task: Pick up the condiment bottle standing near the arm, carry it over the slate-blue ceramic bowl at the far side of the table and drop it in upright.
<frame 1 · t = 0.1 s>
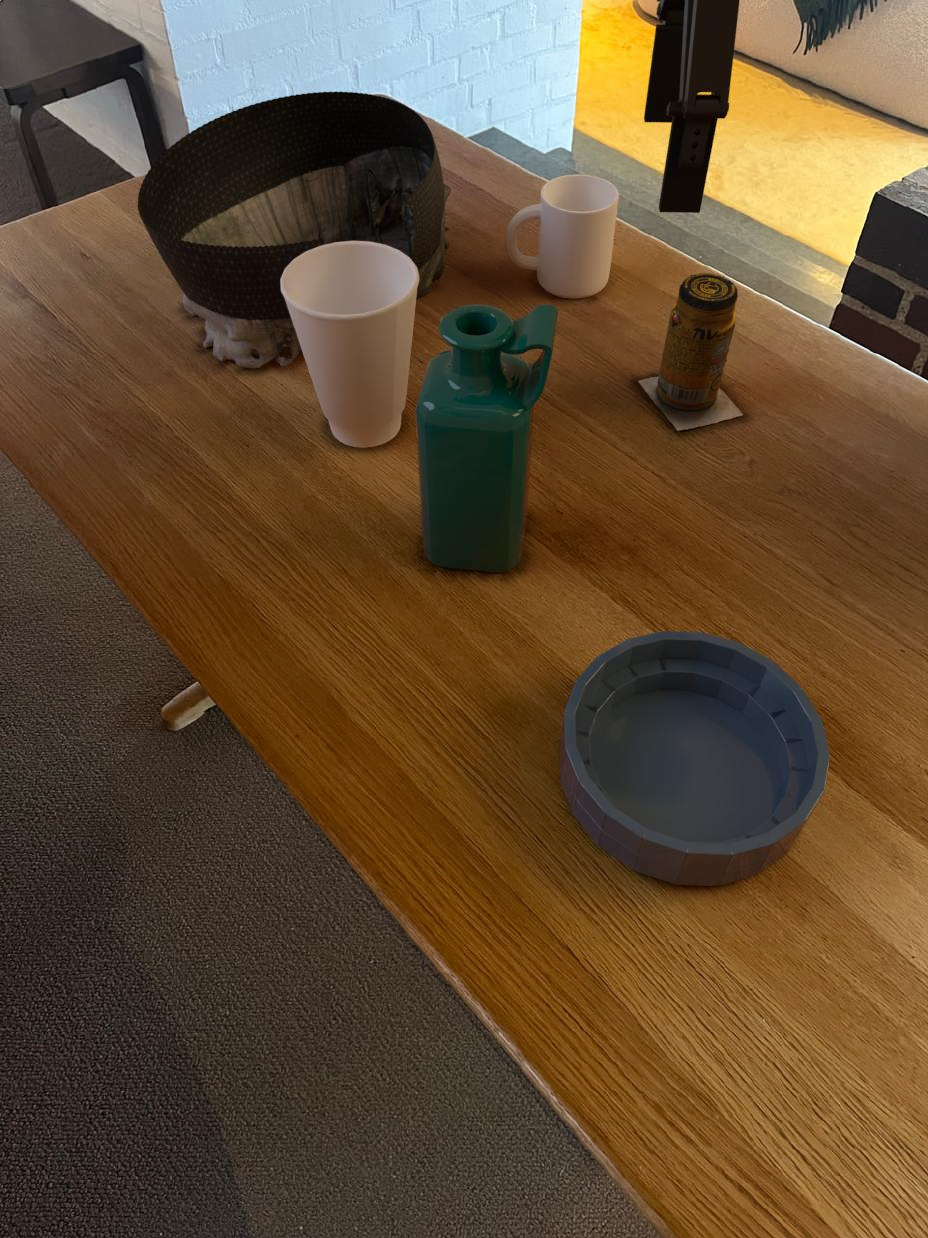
hand: (669, 162, 70), 28 cm above the table, tool pointing down, fingers open, 13 cm apart
bowl: (681, 774, 69), on the table
mug: (555, 282, 110), on the table
pitcher: (483, 539, 84), on the table
cup: (366, 425, 94), on the table
basket: (325, 298, 108), on the table
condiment: (688, 400, 96), on the table
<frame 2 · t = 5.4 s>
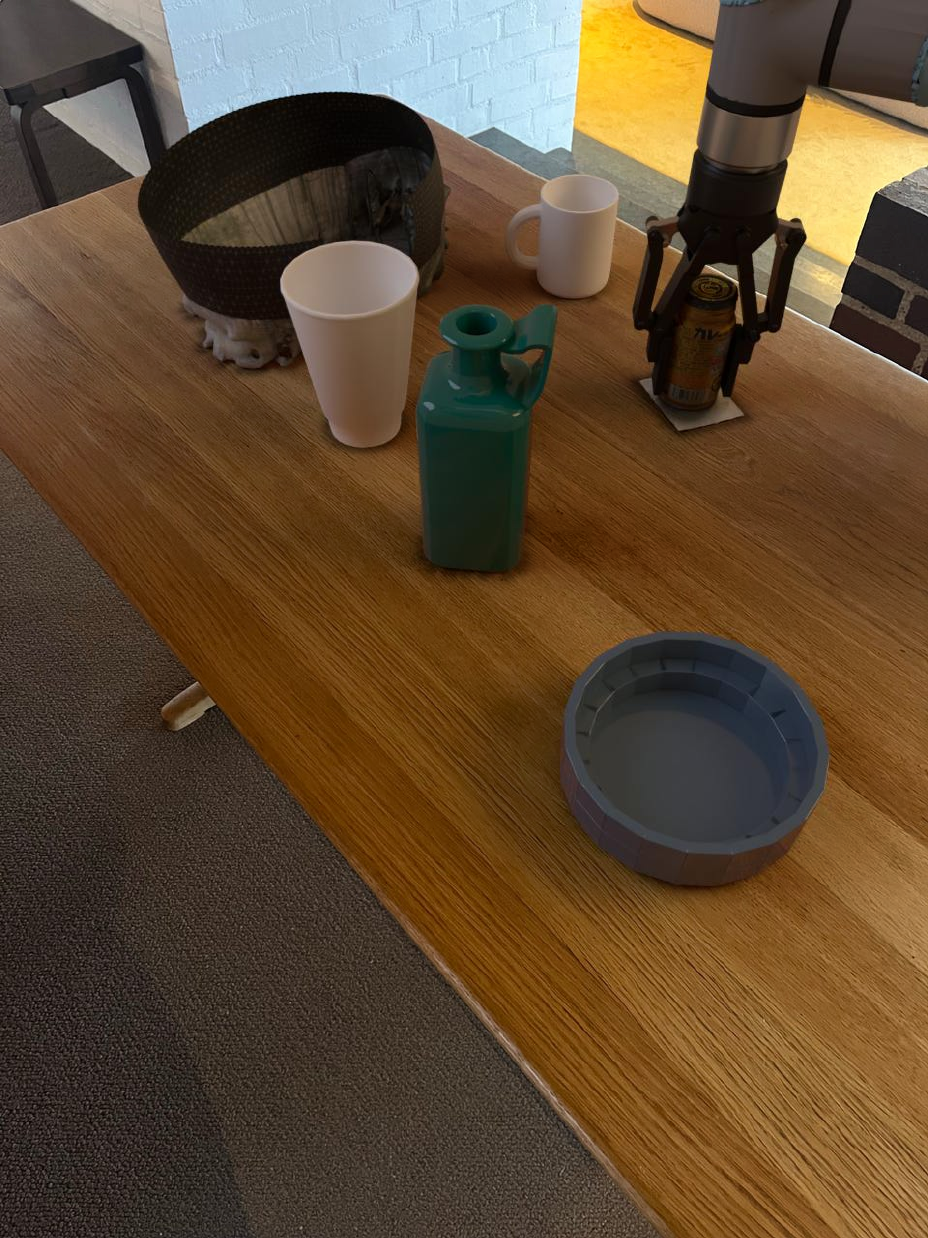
hand: (690, 387, 95), 1 cm above the table, tool pointing down, fingers closed on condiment, 6 cm apart
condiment: (689, 400, 96), on the table, touching gripper
everything else where it was.
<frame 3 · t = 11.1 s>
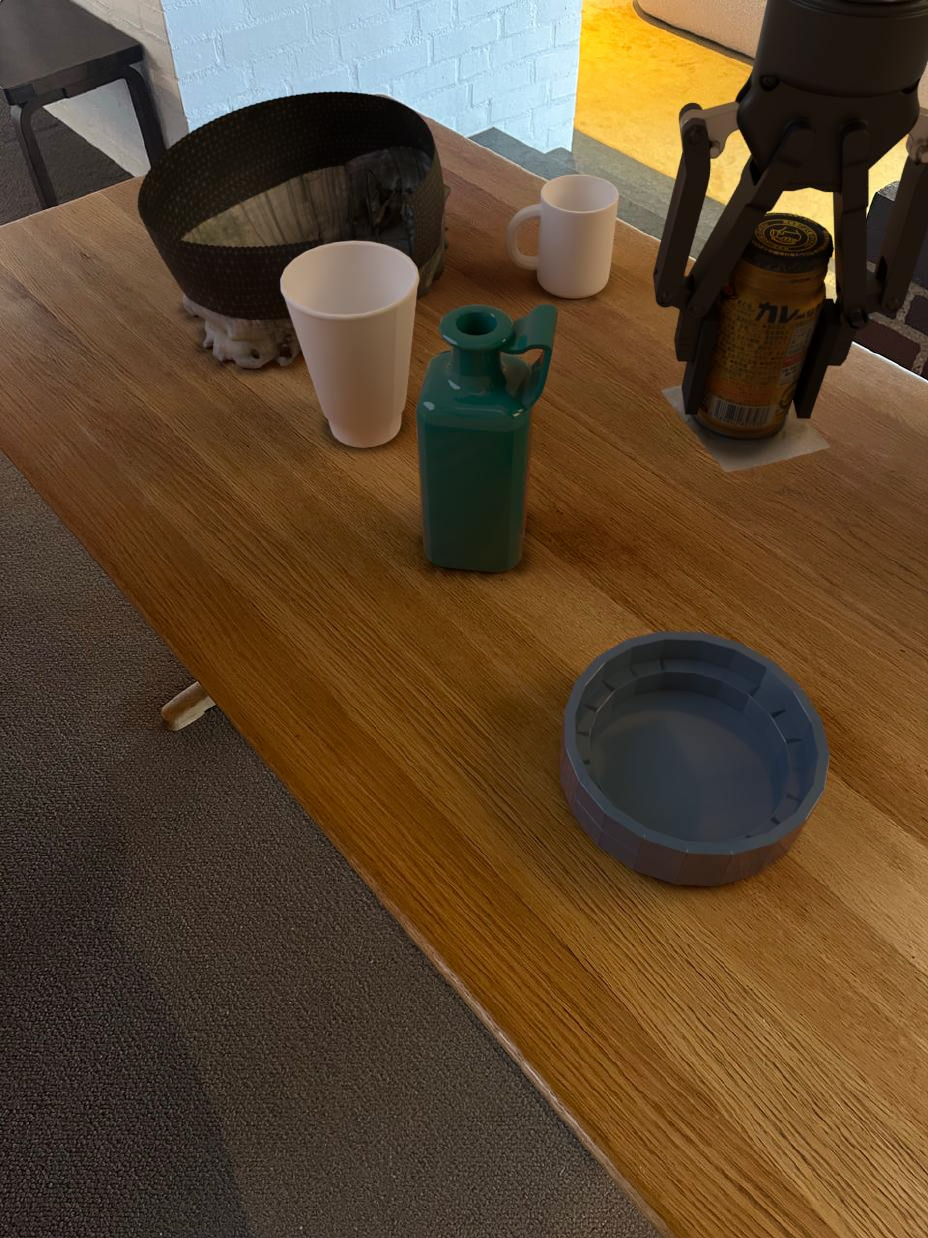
hand: (744, 402, 59), 23 cm above the table, tool pointing down, fingers closed on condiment, 6 cm apart
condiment: (741, 422, 60), point 21 cm above the table, touching gripper
everything else where it was.
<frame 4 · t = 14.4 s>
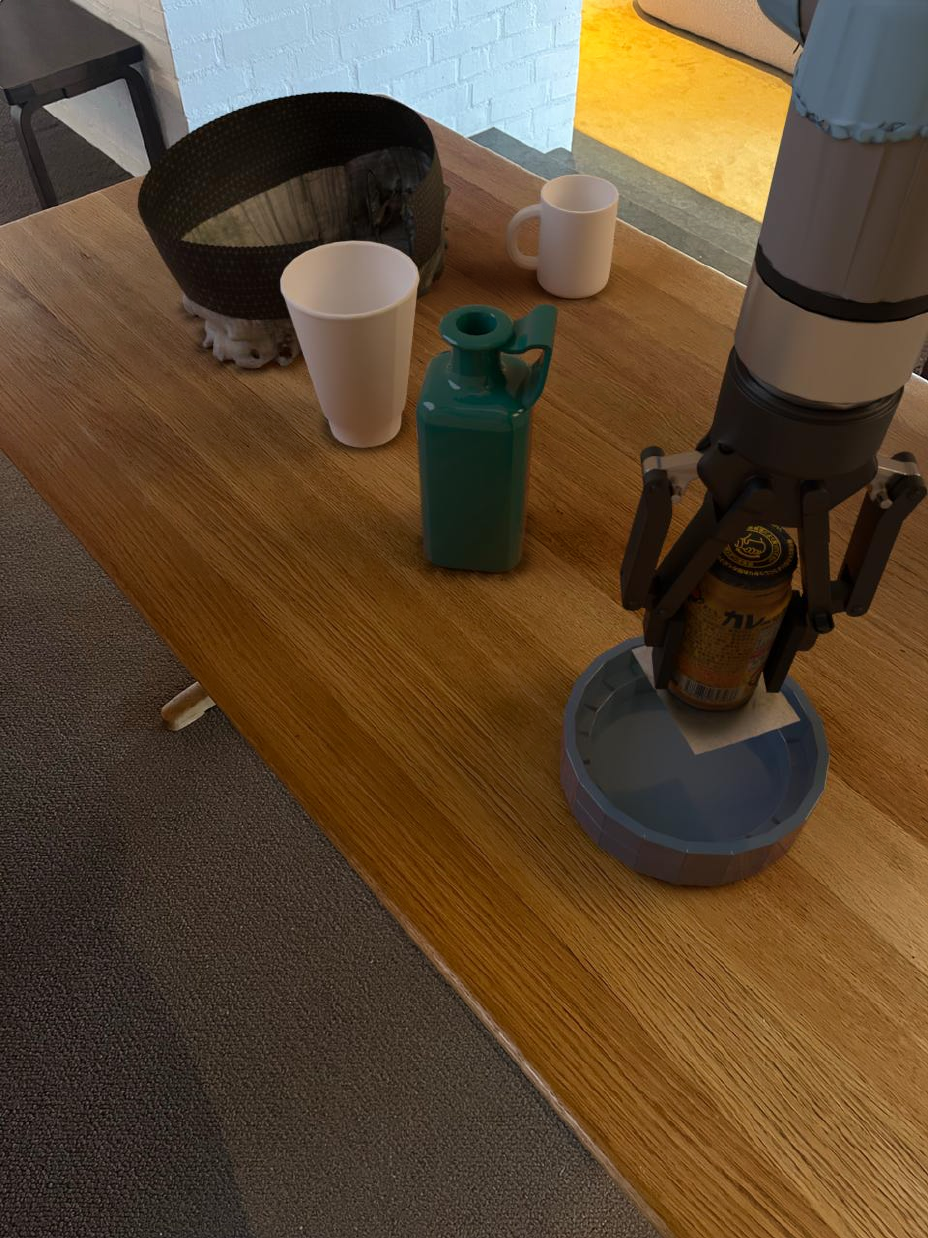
hand: (714, 672, 59), 12 cm above the table, tool pointing down, fingers closed on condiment, 6 cm apart
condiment: (712, 687, 61), point 11 cm above the table, touching gripper
everything else where it was.
when the fingers open (2 cm above the table, at t = 17.1 s): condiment stays where it is, resting on bowl.
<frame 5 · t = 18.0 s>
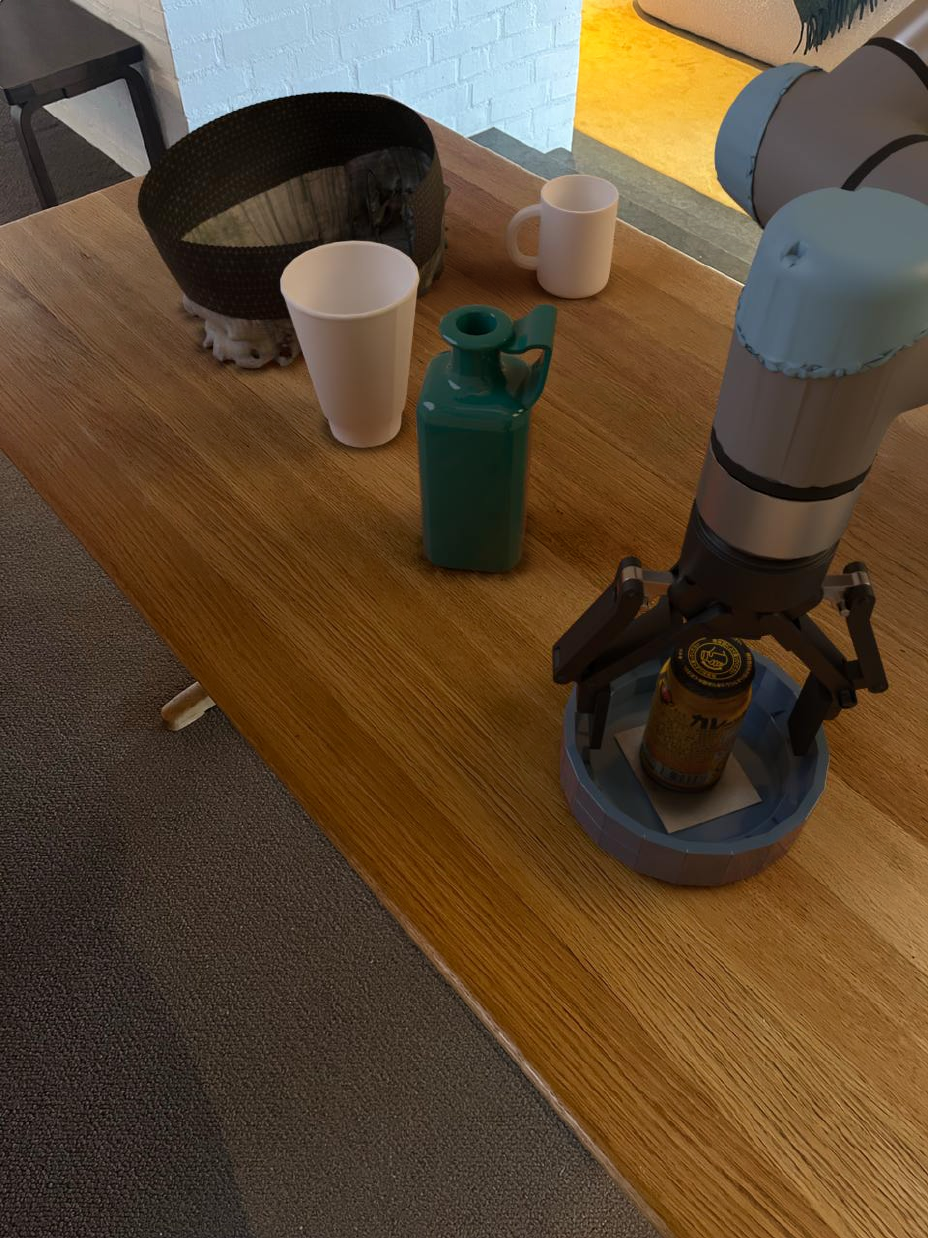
hand: (694, 736, 65), 5 cm above the table, tool pointing down, fingers open, 13 cm apart
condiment: (685, 769, 69), point 1 cm above the table, touching bowl
everything else where it was.
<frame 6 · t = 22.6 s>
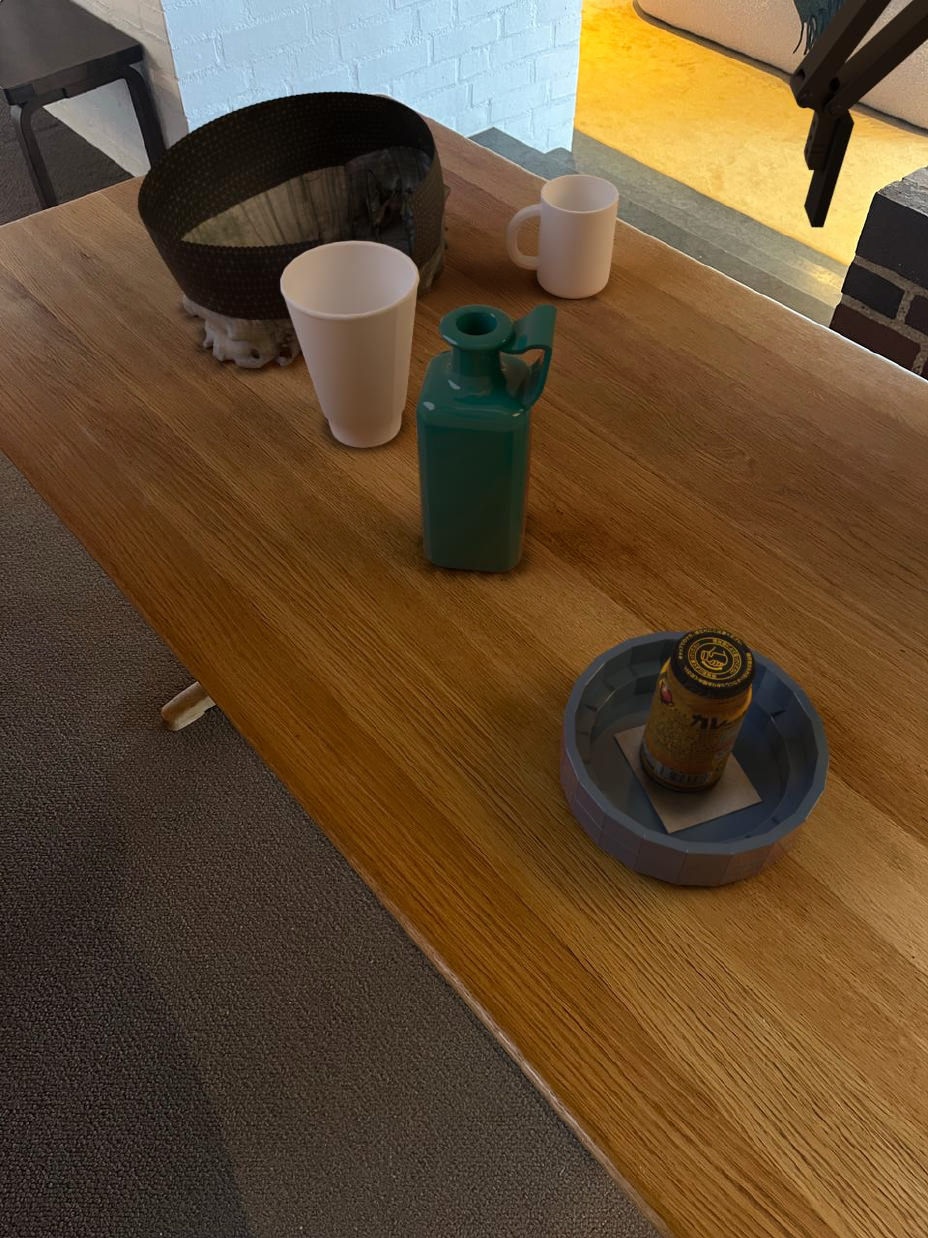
hand: (919, 218, 62), 29 cm above the table, tool pointing down, fingers open, 13 cm apart
nothing on the table moved.
at the end: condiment inside the target area in the bowl (0.2 cm from its centre), point 0.6 cm above the bowl's base; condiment tilted 0°; the gripper is holding nothing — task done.
